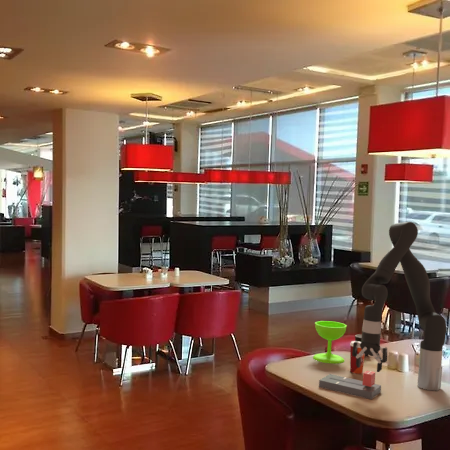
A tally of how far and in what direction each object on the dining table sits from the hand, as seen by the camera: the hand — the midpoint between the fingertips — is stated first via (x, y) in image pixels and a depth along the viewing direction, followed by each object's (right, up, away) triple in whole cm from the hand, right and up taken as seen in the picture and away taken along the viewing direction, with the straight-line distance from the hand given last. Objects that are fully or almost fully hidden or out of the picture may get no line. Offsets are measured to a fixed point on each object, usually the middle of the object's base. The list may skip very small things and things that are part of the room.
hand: (368, 369), depth 233 cm
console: (-7, -10, +4) cm, 13 cm away
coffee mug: (+12, -9, +63) cm, 65 cm away
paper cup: (+2, -10, +32) cm, 33 cm away
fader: (0, -7, 0) cm, 7 cm away
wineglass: (-7, -9, +52) cm, 53 cm away
